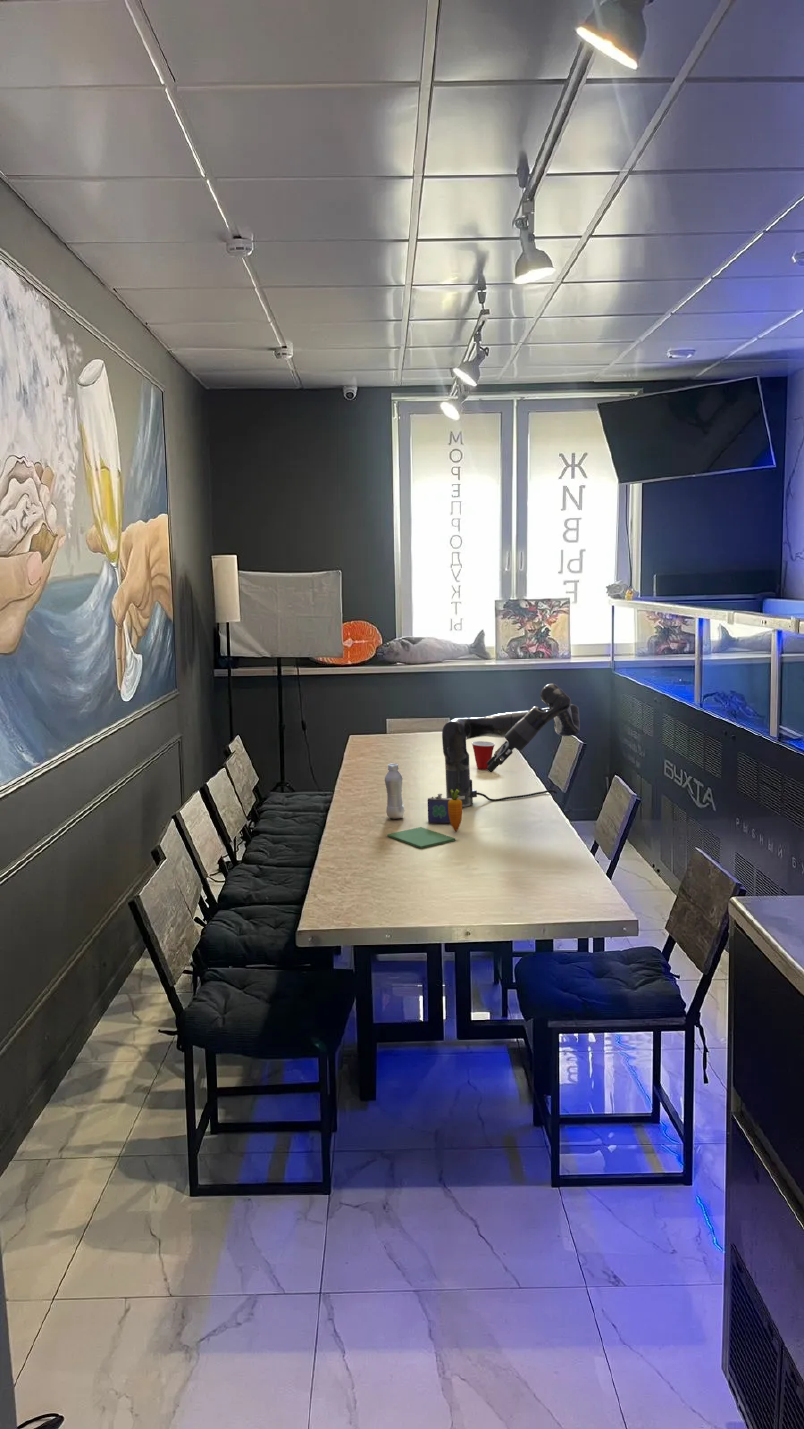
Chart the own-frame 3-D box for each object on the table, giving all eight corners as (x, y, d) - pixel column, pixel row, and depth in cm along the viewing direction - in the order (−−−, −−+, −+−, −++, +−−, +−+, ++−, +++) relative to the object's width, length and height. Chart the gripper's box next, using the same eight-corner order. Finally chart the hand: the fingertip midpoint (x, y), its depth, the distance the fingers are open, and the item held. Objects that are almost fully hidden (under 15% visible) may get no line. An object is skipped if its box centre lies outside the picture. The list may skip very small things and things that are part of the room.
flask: (454, 822, 342) (453, 793, 341) (452, 824, 339) (451, 794, 338) (429, 821, 345) (427, 792, 343) (427, 823, 342) (425, 794, 340)
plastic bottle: (402, 820, 348) (400, 766, 345) (384, 820, 349) (382, 766, 346) (406, 816, 354) (404, 762, 351) (388, 815, 356) (386, 762, 353)
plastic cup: (497, 770, 430) (496, 743, 428) (472, 771, 430) (472, 744, 428) (495, 765, 440) (494, 739, 439) (471, 766, 441) (470, 740, 439)
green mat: (420, 829, 335) (420, 826, 335) (455, 840, 318) (455, 838, 318) (387, 836, 327) (387, 834, 327) (420, 848, 311) (420, 846, 311)
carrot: (447, 830, 332) (446, 787, 330) (462, 829, 332) (460, 786, 330) (449, 833, 327) (448, 790, 325) (464, 833, 327) (462, 790, 325)
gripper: (530, 745, 316) (496, 780, 319) (528, 737, 330) (496, 771, 333) (514, 729, 316) (480, 764, 318) (512, 723, 330) (480, 756, 332)
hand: (488, 768), depth 326 cm, fingers open, 8 cm apart
